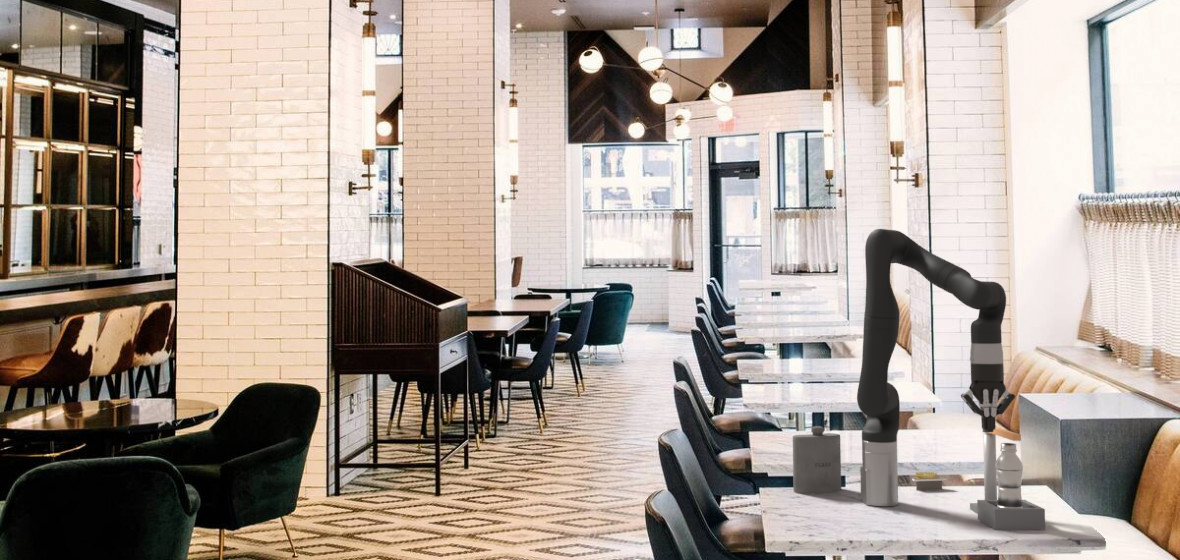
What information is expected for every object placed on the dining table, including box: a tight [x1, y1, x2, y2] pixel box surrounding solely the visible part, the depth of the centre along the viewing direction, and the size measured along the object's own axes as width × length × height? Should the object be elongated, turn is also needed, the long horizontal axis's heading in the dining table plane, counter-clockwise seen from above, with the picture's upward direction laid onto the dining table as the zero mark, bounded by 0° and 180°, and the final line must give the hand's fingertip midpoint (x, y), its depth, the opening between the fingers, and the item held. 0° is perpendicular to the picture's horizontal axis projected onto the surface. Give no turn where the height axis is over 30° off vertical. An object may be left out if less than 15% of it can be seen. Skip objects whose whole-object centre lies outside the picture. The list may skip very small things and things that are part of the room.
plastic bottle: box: [995, 442, 1024, 508], centre depth 229 cm, size 6×7×20 cm
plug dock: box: [969, 432, 1046, 531], centre depth 234 cm, size 12×22×21 cm, turn 178°
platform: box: [911, 471, 947, 491], centre depth 267 cm, size 12×18×7 cm, turn 98°
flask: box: [792, 425, 842, 495], centre depth 266 cm, size 15×6×20 cm, turn 107°
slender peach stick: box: [982, 424, 1022, 442], centre depth 233 cm, size 19×3×2 cm, turn 178°
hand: (988, 431), depth 226 cm, fingers closed
